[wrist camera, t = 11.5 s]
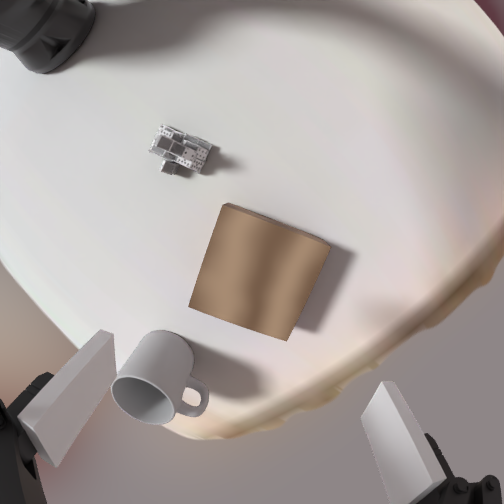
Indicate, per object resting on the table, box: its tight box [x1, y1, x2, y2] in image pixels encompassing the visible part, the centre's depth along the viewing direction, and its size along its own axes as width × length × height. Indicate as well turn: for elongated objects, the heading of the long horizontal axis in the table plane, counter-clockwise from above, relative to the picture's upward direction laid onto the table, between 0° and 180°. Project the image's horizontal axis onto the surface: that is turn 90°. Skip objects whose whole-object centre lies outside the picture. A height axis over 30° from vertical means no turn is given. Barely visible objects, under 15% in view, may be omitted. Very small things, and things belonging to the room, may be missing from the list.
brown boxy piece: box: [188, 203, 331, 341], centre depth 32 cm, size 12×12×5 cm
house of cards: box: [149, 124, 212, 175], centre depth 28 cm, size 9×9×8 cm
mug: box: [111, 330, 209, 425], centre depth 32 cm, size 12×8×11 cm
